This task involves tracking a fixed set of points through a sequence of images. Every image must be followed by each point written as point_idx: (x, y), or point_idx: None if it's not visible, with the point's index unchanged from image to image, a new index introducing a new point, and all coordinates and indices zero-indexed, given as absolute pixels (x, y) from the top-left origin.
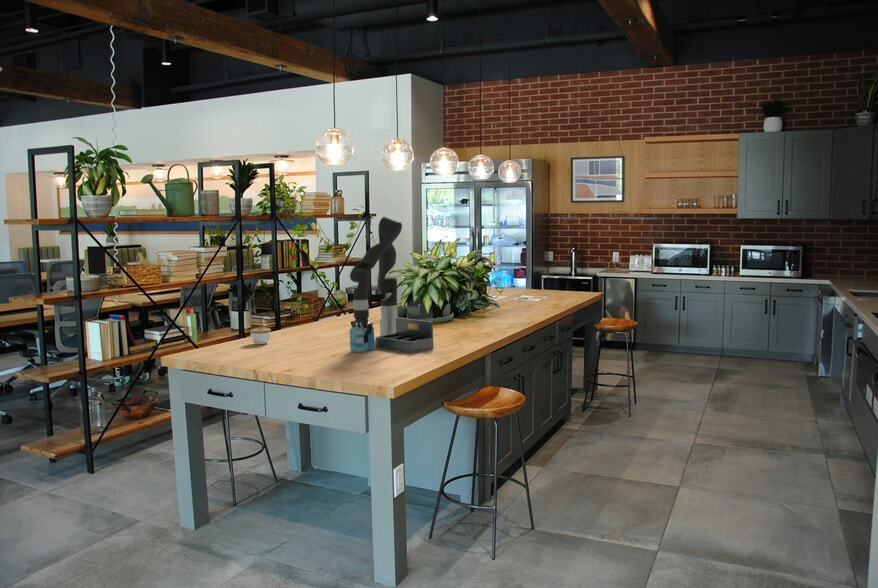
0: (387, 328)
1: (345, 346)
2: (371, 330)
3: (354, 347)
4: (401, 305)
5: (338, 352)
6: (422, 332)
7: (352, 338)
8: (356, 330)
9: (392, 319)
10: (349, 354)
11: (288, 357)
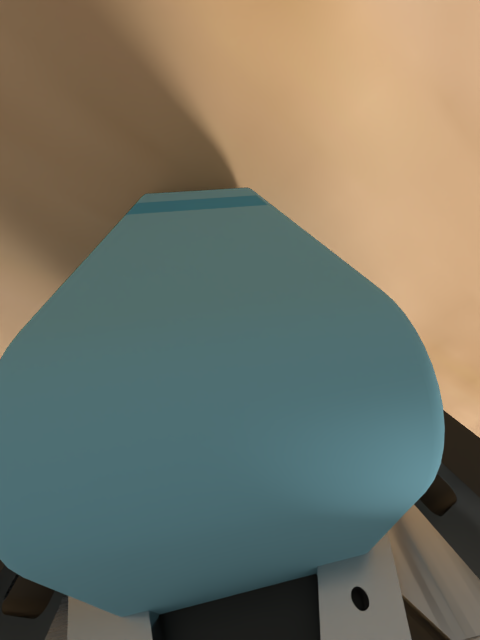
0: (398, 521)
1: (446, 285)
2: (17, 588)
3: (157, 197)
4: None
5: (335, 28)
6: (58, 618)
7: (200, 228)
8: (7, 455)
9: (405, 582)
10: (101, 55)
11: None
